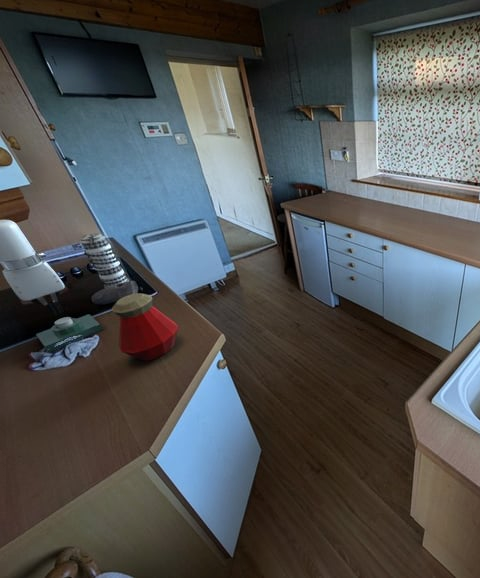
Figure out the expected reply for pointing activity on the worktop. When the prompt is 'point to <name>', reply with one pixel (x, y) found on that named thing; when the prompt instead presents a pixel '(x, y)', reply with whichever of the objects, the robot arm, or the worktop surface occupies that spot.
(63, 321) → the pump button
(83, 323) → the green flat block
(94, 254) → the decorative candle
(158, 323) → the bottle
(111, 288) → the perforated stone tool
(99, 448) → the worktop surface
